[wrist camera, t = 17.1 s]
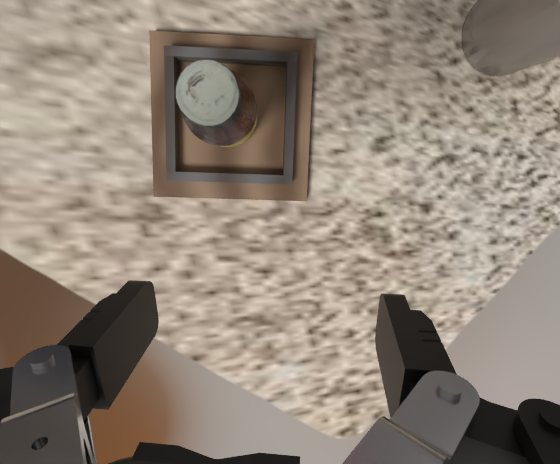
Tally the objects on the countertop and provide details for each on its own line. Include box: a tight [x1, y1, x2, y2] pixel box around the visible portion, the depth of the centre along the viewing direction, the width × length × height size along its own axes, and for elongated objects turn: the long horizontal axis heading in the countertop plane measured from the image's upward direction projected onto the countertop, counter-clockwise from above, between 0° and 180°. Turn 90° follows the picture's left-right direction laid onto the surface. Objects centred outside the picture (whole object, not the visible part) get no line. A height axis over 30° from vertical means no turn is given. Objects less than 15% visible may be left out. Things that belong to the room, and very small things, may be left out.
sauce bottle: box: [175, 59, 257, 147], centre depth 33 cm, size 6×6×20 cm
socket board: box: [150, 31, 314, 201], centre depth 42 cm, size 18×18×4 cm
